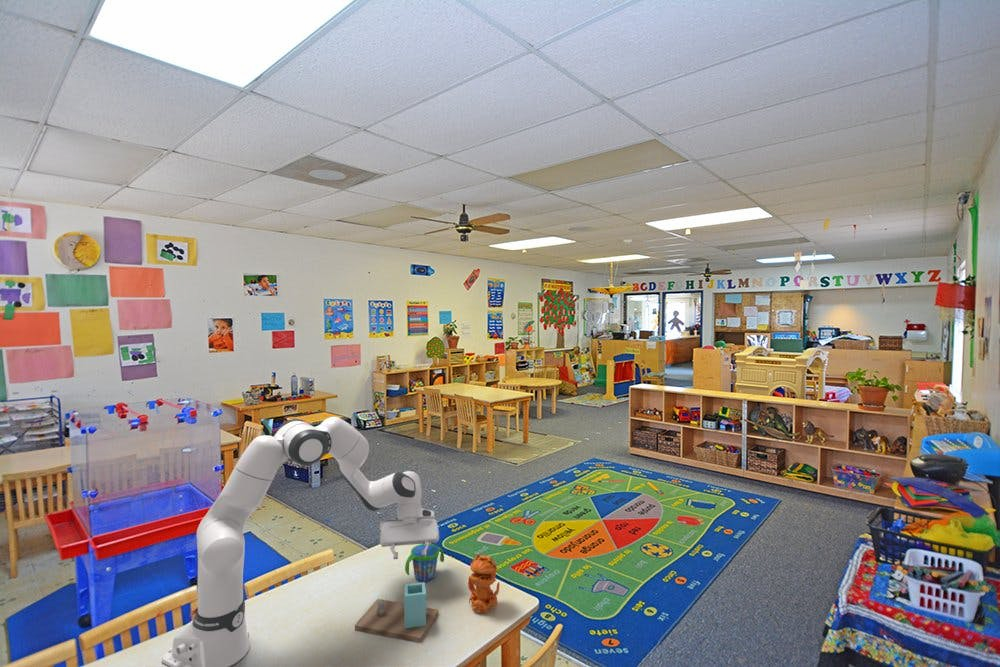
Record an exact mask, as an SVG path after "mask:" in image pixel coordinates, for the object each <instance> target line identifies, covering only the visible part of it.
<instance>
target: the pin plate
mask: <svg viewBox="0 0 1000 667" xmlns="http://www.w3.org/2000/svg"><path fill="white" fill-rule="evenodd" d="M438 615H439V609H438V608H432V607H427V606H426V626H419V627H411V628H405V620H404V602H399V601H393V600H387V599H382V598H377V599H376V600H375V601H374V602H373V603H372V605H371V606H370V607H369V608H368V609H367V610H366V612H365V613H364V614H363V615H362V616H361V618H360V619H358V621H357V622H356V623H355V624H354V630H355V631H358V632H362V633H363V632H364V633H367V634H368V633H369V634H373V635H374V634H375V635H379V636H382V637H383V636H384V637H390V638H393V639H399V640H404V641H408V642H412V643H413V642H414V643H420V644H422V642H423V640H424V638H425V637H426V636H427V634H428V633H429V632H428V631H429V630H430V628H431V627H432V625H433V624H434V622H435V620H436V618H437V617H438Z"/></svg>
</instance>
